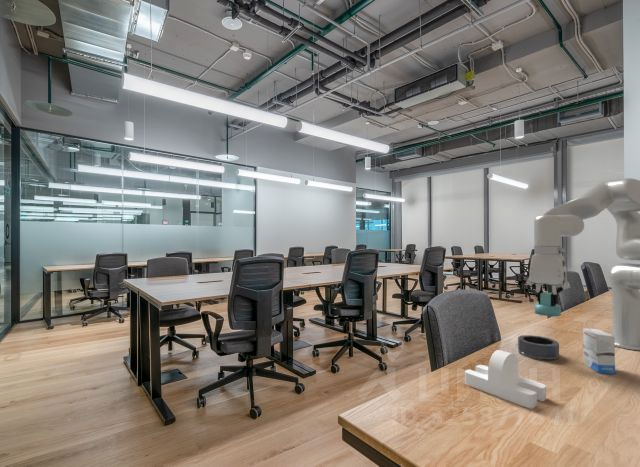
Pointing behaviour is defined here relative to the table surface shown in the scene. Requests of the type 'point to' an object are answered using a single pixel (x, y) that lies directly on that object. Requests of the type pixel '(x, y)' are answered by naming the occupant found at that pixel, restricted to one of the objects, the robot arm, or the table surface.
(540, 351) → the grey round hollow piece
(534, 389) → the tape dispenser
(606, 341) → the ink box
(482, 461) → the table surface
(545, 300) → the cap
